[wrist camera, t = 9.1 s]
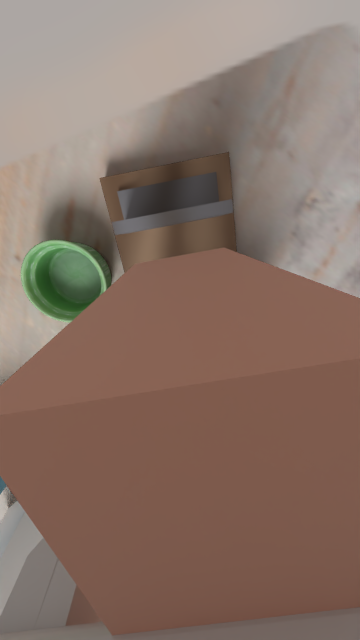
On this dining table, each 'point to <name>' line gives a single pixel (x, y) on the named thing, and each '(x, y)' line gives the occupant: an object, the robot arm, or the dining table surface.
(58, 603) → the robot arm
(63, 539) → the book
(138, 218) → the shelf stand
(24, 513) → the milk
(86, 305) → the ramekin
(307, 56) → the dining table surface
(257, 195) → the dining table surface
